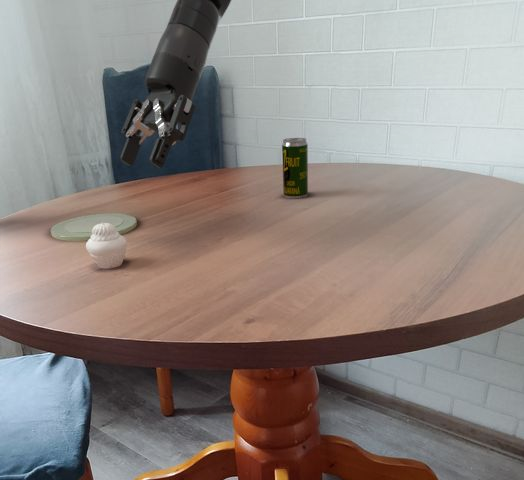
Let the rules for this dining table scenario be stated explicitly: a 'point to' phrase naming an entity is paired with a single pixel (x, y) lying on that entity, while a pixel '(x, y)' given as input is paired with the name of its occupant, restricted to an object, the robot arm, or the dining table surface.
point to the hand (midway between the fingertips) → (140, 164)
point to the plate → (91, 226)
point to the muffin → (106, 246)
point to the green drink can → (295, 167)
